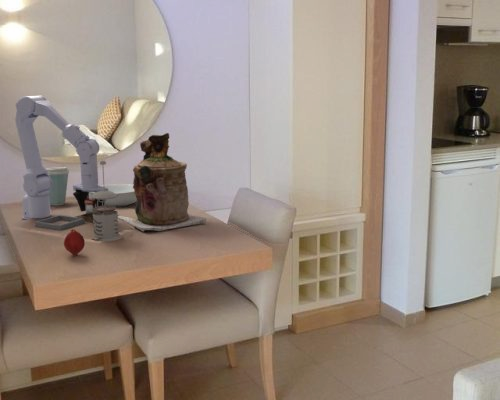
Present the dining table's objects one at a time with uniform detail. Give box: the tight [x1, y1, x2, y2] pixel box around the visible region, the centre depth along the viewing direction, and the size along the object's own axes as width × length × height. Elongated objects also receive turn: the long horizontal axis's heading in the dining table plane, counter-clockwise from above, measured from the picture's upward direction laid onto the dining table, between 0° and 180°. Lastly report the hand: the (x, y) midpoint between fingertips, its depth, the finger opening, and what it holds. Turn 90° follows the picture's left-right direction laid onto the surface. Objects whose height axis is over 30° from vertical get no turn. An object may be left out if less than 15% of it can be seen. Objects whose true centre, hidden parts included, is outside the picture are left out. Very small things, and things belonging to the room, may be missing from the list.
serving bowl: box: [89, 183, 137, 208], centre depth 244 cm, size 21×21×7 cm
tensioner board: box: [74, 212, 120, 223], centre depth 221 cm, size 13×13×4 cm
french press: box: [91, 160, 123, 242], centre depth 196 cm, size 10×12×25 cm
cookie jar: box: [118, 132, 208, 232], centre depth 214 cm, size 25×25×32 cm
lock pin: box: [84, 197, 96, 217], centre depth 217 cm, size 5×5×7 cm
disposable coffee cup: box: [45, 166, 70, 206], centre depth 245 cm, size 11×11×15 cm
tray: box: [34, 214, 86, 231], centre depth 210 cm, size 12×12×2 cm
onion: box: [63, 228, 86, 256], centre depth 177 cm, size 6×6×8 cm
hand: (91, 212), depth 217 cm, fingers open, 7 cm apart
